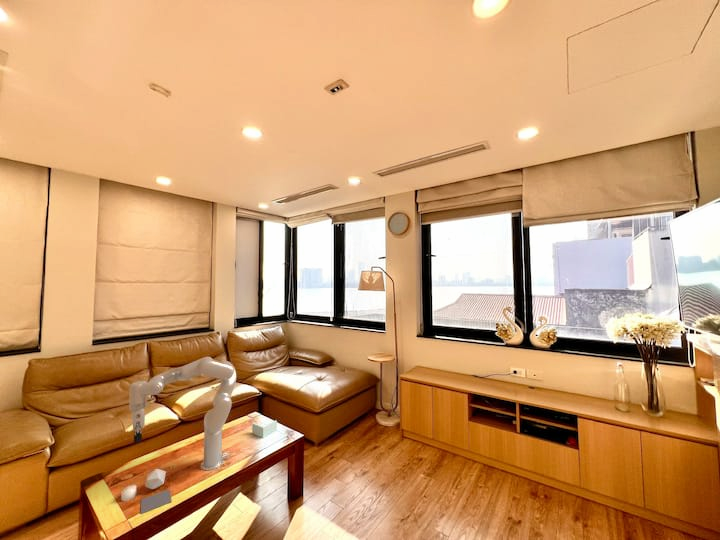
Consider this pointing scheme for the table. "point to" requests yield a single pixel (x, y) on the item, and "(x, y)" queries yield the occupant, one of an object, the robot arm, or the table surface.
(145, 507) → the mat
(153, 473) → the die
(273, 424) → the pale green block
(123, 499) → the white rounded lump
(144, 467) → the table surface
